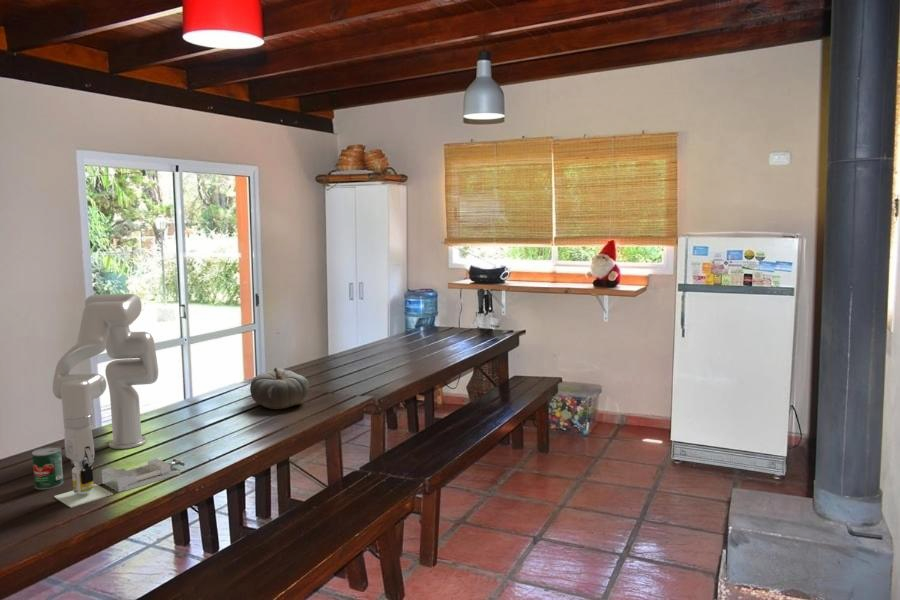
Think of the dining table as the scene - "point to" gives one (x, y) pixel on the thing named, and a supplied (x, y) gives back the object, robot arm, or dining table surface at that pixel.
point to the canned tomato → (47, 468)
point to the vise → (138, 475)
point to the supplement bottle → (76, 478)
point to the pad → (83, 496)
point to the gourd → (279, 389)
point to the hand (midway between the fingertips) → (82, 479)
